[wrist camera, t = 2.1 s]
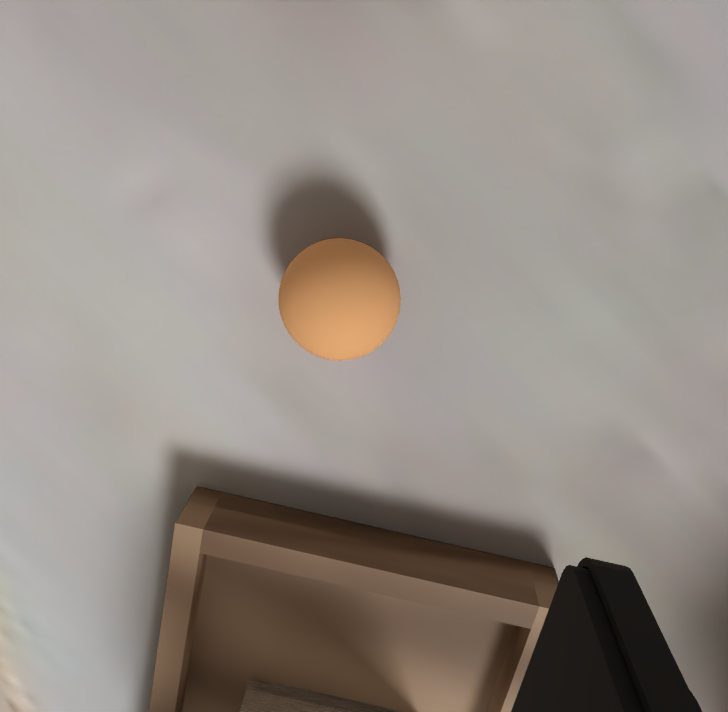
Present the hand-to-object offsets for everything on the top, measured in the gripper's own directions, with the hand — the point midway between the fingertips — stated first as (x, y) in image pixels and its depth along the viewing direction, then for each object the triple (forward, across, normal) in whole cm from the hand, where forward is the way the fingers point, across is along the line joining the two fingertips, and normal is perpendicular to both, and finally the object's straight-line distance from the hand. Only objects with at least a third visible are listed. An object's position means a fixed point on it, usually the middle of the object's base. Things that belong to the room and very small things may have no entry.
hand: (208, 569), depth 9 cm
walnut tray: (+15, -3, +18) cm, 24 cm away
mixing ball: (+15, 0, 0) cm, 15 cm away
